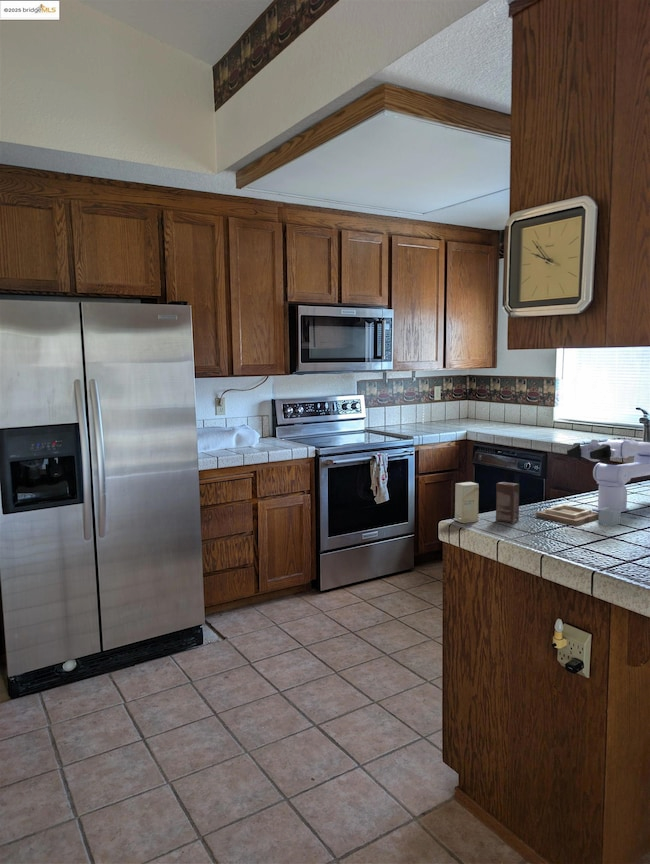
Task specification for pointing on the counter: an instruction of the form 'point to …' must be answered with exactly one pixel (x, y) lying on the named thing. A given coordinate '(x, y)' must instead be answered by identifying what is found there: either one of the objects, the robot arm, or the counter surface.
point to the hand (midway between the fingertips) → (579, 454)
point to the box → (507, 502)
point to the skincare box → (466, 502)
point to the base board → (568, 514)
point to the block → (609, 516)
